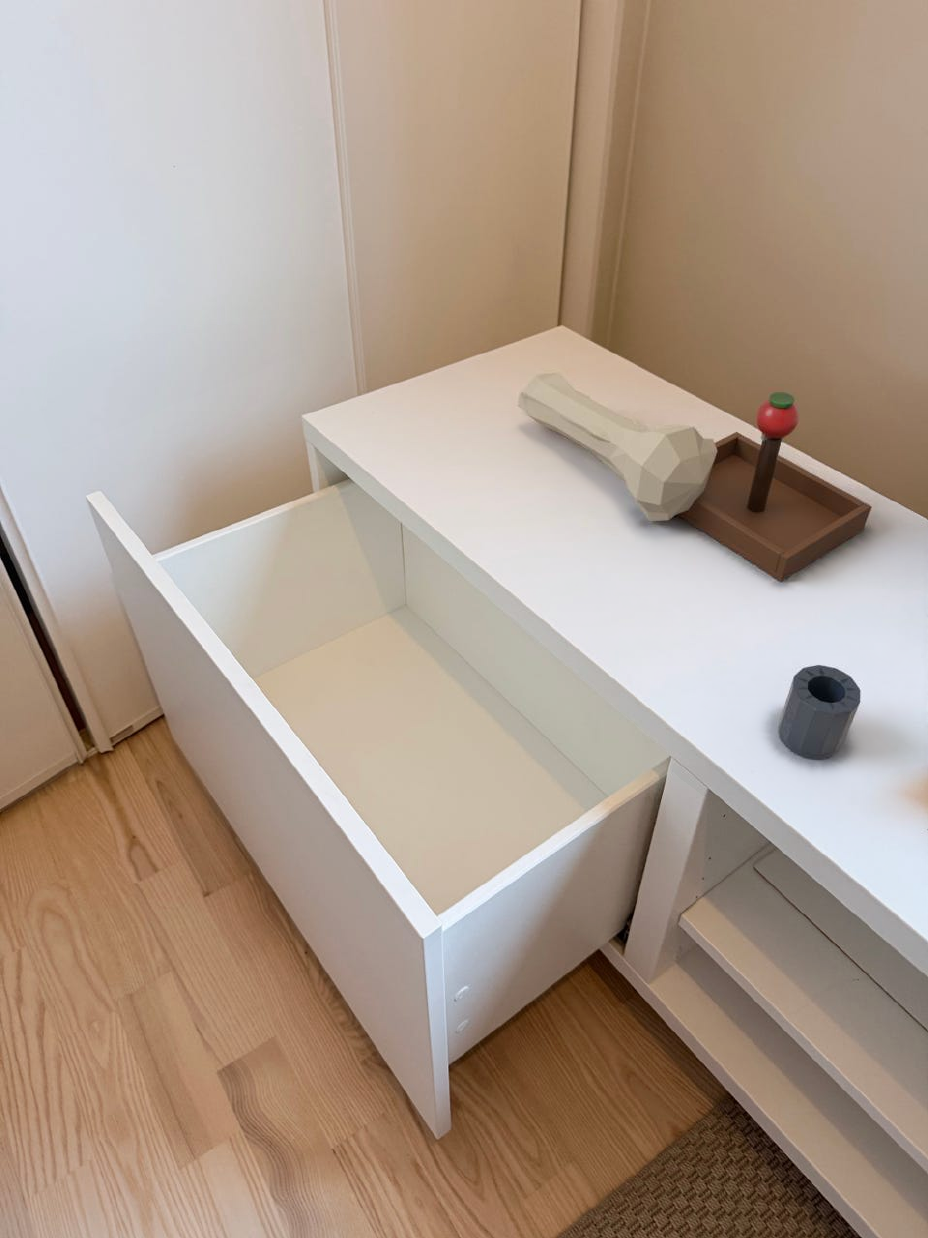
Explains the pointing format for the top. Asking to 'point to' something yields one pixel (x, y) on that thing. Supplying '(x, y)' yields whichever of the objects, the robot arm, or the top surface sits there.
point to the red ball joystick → (771, 443)
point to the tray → (773, 511)
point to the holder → (818, 712)
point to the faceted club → (626, 446)
